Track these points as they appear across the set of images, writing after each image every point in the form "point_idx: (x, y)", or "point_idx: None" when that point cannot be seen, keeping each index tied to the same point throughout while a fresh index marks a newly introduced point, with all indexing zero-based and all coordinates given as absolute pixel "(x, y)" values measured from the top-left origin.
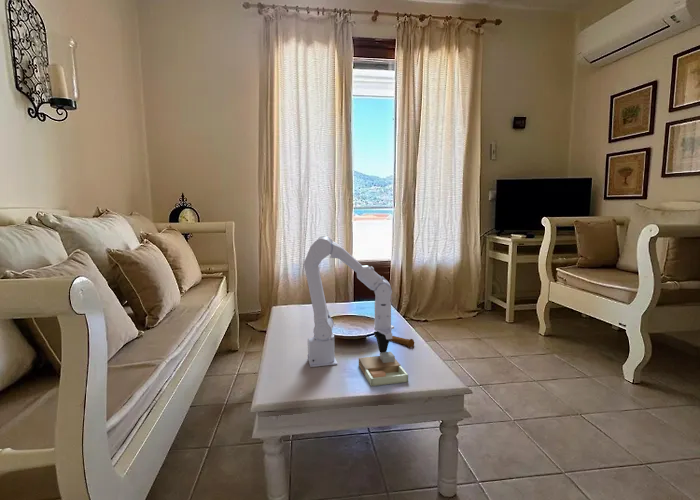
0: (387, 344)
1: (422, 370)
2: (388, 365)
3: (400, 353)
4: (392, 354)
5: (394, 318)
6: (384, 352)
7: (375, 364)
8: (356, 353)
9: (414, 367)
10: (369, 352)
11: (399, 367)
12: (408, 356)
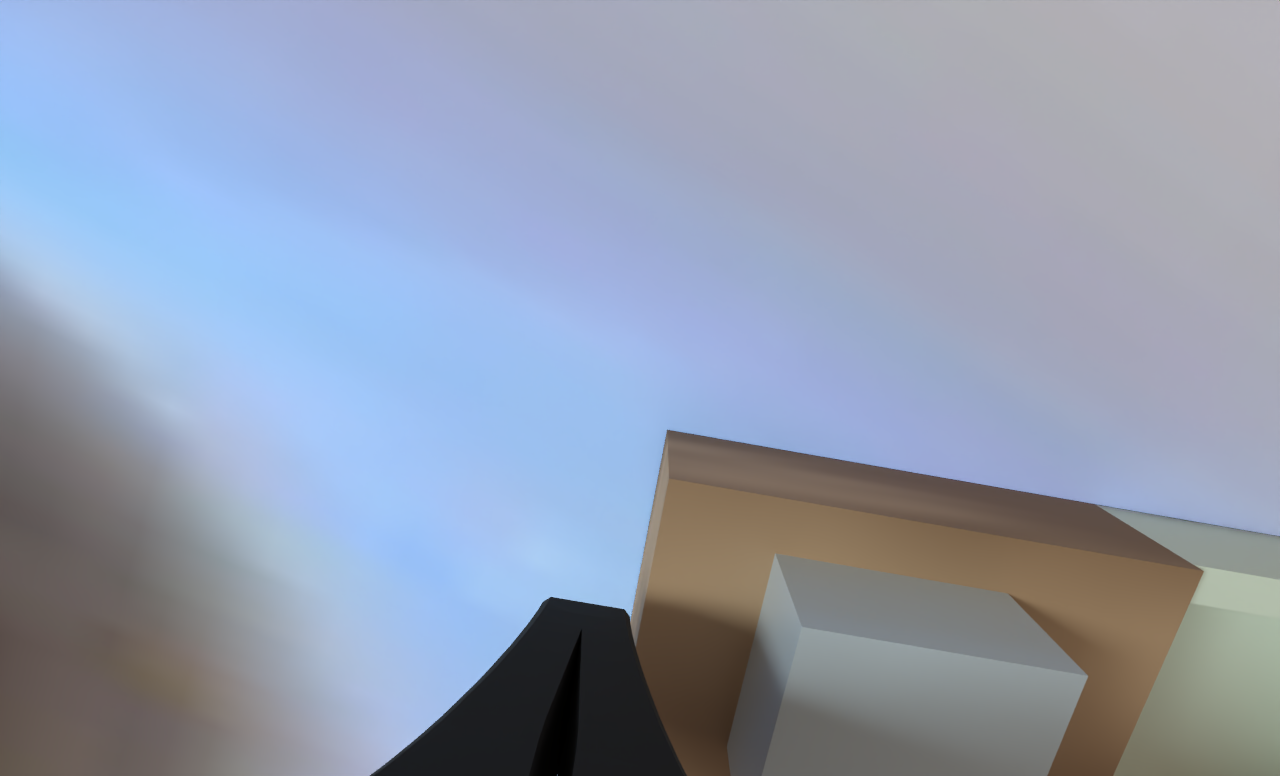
0: (673, 771)
1: (1253, 112)
2: (1085, 760)
3: (379, 85)
4: (980, 678)
5: None
6: (780, 772)
7: None
8: (174, 750)
9: (1063, 183)
10: (183, 574)
11: (1219, 604)
12: (573, 6)
